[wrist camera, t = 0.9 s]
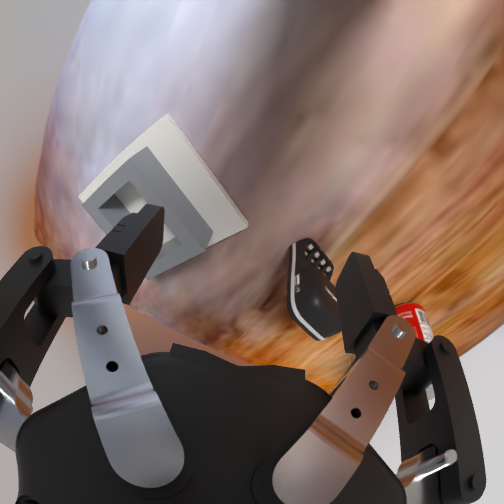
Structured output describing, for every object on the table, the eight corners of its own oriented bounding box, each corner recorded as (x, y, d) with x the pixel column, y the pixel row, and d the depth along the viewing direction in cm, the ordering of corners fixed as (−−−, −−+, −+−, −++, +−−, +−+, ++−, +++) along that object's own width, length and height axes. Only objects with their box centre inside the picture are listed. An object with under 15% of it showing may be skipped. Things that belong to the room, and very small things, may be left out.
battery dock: (168, 113, 27) (148, 122, 23) (248, 223, 34) (242, 247, 30) (82, 193, 34) (61, 211, 30) (150, 272, 41) (138, 295, 37)
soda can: (429, 297, 38) (457, 379, 26) (414, 328, 42) (432, 404, 31) (386, 299, 39) (406, 387, 27) (374, 330, 43) (386, 411, 32)
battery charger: (341, 265, 36) (352, 335, 27) (317, 278, 38) (321, 348, 29) (312, 228, 33) (318, 298, 24) (287, 243, 35) (283, 314, 26)
